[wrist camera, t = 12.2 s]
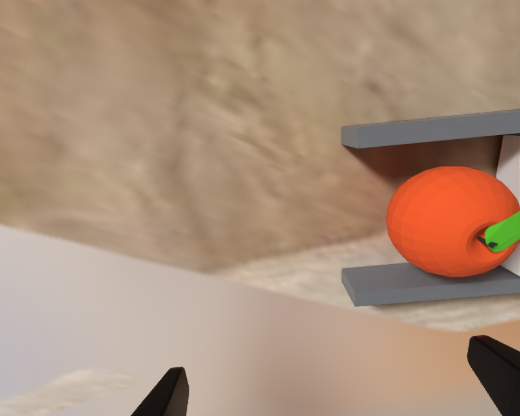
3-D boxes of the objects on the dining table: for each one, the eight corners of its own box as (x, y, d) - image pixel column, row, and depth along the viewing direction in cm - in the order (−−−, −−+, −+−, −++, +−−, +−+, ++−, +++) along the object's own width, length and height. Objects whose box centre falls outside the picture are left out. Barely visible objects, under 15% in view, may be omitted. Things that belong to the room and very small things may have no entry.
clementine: (448, 129, 18) (560, 130, 12) (491, 203, 20) (610, 243, 13) (352, 198, 20) (400, 235, 13) (398, 262, 21) (462, 325, 15)
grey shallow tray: (578, 103, 18) (677, 97, 14) (537, 264, 22) (604, 298, 17) (341, 126, 18) (366, 127, 14) (341, 281, 22) (361, 318, 18)
